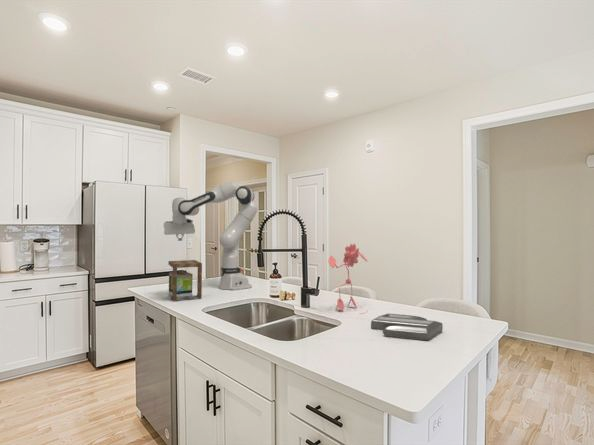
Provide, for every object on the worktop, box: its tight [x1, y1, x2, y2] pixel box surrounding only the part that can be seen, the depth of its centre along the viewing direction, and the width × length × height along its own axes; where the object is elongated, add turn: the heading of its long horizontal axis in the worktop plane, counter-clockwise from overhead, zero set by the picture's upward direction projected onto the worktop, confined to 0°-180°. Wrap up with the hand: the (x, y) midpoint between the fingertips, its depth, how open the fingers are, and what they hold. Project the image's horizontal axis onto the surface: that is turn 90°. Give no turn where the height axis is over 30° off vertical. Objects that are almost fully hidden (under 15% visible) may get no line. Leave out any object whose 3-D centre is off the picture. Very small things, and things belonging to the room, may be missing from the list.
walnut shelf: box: [167, 259, 203, 303], centre depth 201 cm, size 16×20×21 cm
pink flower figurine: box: [327, 243, 369, 315], centre depth 172 cm, size 15×26×35 cm, turn 130°
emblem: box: [370, 313, 444, 341], centre depth 142 cm, size 28×5×28 cm
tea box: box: [168, 271, 194, 298], centre depth 200 cm, size 15×10×15 cm, turn 36°
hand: (180, 240), depth 232 cm, fingers closed
